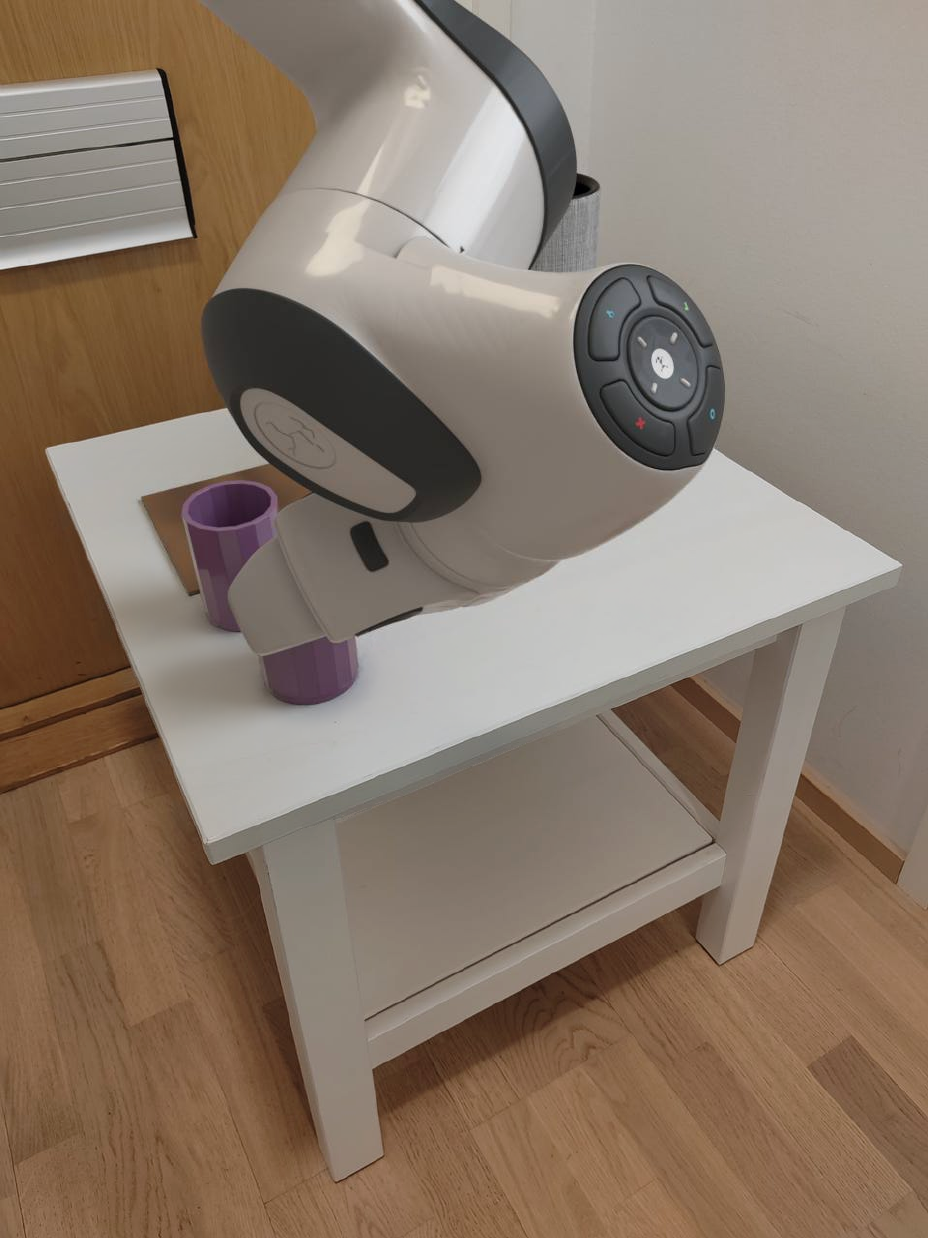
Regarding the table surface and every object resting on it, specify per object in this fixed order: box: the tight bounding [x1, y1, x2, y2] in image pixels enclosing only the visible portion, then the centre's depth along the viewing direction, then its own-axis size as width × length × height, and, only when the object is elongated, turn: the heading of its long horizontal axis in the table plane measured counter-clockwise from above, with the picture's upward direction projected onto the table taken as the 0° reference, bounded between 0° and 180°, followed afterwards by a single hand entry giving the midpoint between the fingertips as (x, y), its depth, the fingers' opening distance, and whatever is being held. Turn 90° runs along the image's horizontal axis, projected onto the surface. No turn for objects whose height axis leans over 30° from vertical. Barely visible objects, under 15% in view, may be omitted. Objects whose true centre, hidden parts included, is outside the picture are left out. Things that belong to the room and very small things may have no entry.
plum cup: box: [257, 636, 360, 706], centre depth 72 cm, size 7×7×10 cm
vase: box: [530, 172, 602, 273], centre depth 92 cm, size 10×10×27 cm
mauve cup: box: [181, 480, 280, 632], centre depth 78 cm, size 7×7×10 cm
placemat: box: [140, 462, 312, 596], centre depth 92 cm, size 20×18×1 cm
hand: (373, 579), depth 58 cm, fingers open, 8 cm apart
